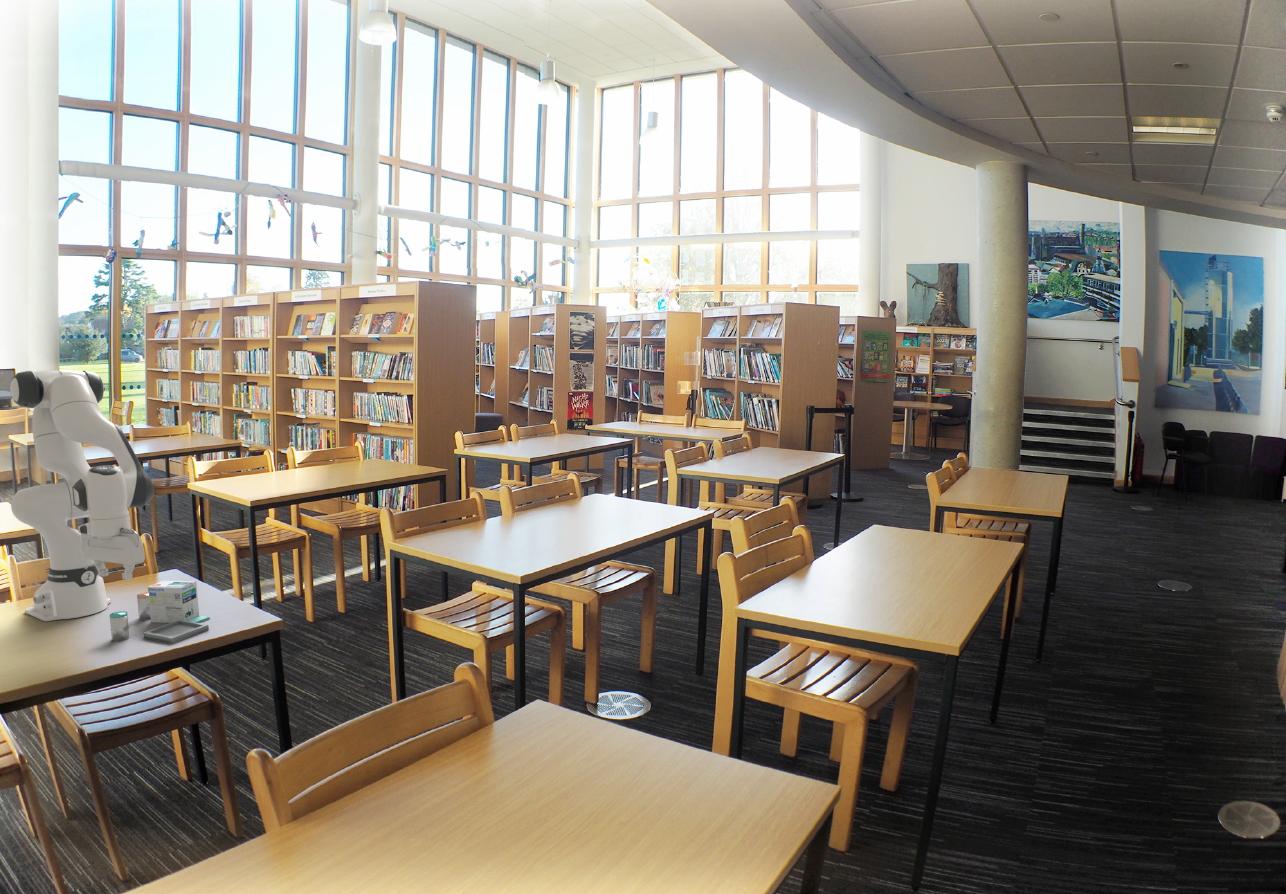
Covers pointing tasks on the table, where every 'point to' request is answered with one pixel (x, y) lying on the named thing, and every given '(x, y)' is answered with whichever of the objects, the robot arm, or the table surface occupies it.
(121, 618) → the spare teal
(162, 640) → the tray
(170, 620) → the light bulb box
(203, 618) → the label tile
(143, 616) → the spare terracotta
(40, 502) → the robot arm
